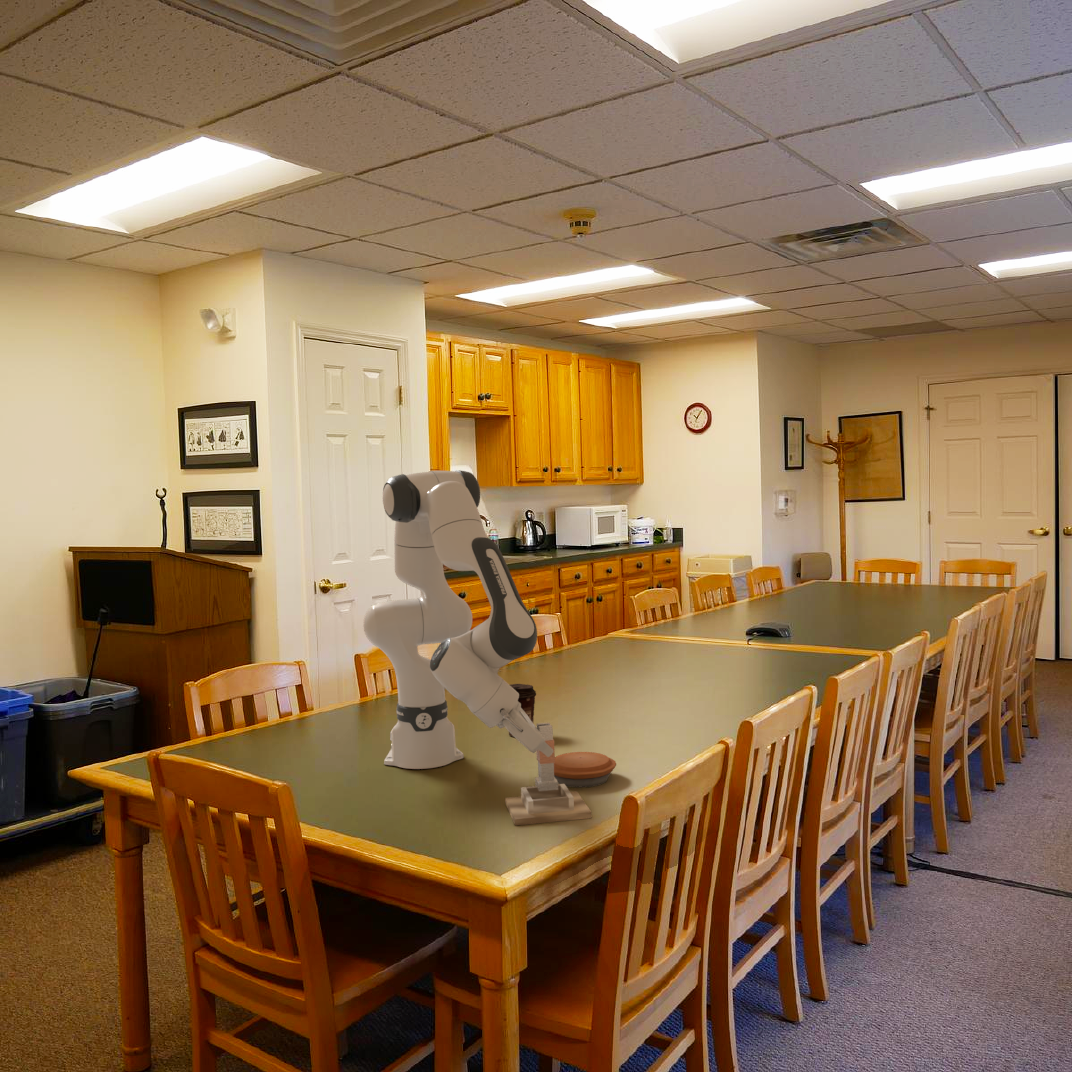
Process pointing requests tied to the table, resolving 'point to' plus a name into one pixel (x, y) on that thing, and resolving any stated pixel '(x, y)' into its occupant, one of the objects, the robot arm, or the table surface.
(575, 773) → the pie
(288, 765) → the table surface
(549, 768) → the grey orange upright bar
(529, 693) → the coffee cup
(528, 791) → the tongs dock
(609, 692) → the table surface
